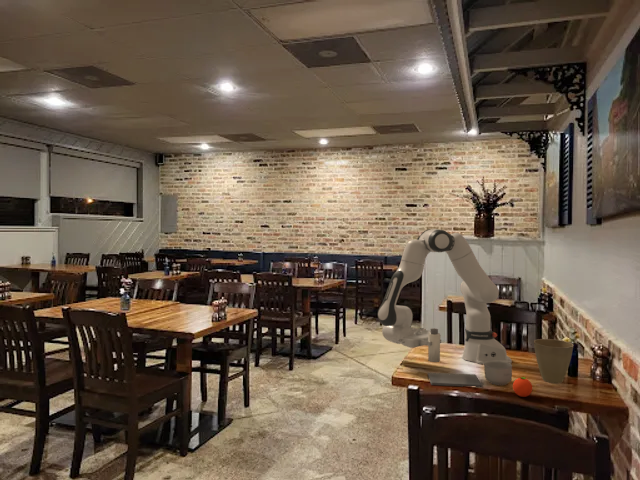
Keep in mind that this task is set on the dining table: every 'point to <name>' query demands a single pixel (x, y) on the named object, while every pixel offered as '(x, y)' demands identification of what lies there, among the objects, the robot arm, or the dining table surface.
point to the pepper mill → (434, 346)
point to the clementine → (522, 387)
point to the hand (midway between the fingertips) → (435, 342)
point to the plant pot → (553, 358)
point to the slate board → (454, 379)
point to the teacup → (498, 372)
